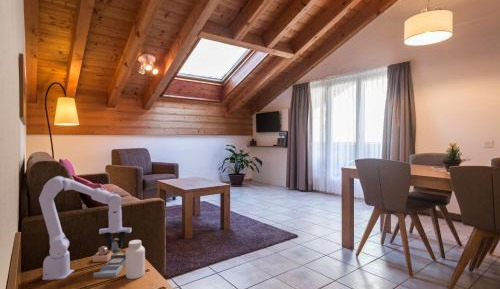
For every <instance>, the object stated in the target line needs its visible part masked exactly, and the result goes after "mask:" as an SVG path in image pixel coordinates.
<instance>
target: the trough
mask: <svg viewBox="0 0 500 289" xmlns="http://www.w3.org/2000/svg"><path fill="white" fill-rule="evenodd" d="M123 268H124V266H123V265H109V266H104V265H101V266H100V270H99V271H98V272H97V271H96V272H93V275H92V276H93V279H94V278H95V279H96V278H105V277H108V278H116V277H117V276H118V274H120V272H121V271H122V270H123Z"/></svg>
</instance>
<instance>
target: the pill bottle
mask: <svg viewBox="0 0 500 289" xmlns="http://www.w3.org/2000/svg"><path fill="white" fill-rule="evenodd" d="M125 254H126V264H125V277H126V278H127V279H130V280H134V279H135V280H136V279H139V278H141V277H143V276H144V275H145V274H146V248H145V247H144V246H143V245H142V240H140V239H133V240H130V241H129V242H128V248H126V250H125Z"/></svg>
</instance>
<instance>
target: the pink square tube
mask: <svg viewBox="0 0 500 289" xmlns="http://www.w3.org/2000/svg"><path fill="white" fill-rule="evenodd" d="M107 252H108V255H106V256H99V251H98V252H96V253H95V254H94V255H93V256H92V263H93V262H94V263H96V262H97V263H98V262H108V261H109V260H110V259H111V255H112V254H114V253H112V252H111V250H107Z"/></svg>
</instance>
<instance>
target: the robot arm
mask: <svg viewBox="0 0 500 289" xmlns="http://www.w3.org/2000/svg"><path fill="white" fill-rule="evenodd" d="M63 189H64V191H69V190H74V191H75V192H79V193H82V194H85V195H88V196H90V197H91V199H92V200H93V201H96V202H99V203H101V204H105V205H108V227H107V228H106V227H104V228H100V229H99V231H98V234H99V235H102V234H104V235H103V238H104V239H105V240H106V242H107V244H108V248H109V249H110V250H111V240H113V238H114V237H113V236H114V234H117V233H118V234H117V239H119V248H121V249H122V248H123V245H124V244H123V243H124V240H125V238H126V235H127V234H131V232H132V227H124V226H123V220H122V219H123V218H122V217H123V212H122V203H123V202H122V201H123V200H122V197H121V195H119V194H118V193H114V191H108V190H105V188H104V187H97V188H93V187H91V186H88V185H86V184H83V183H81V182H79V181H76V180H75V179H71V178H68V177H65V176H62V175H57V176H54V177H52V178H51V179H49V180H47V182H45V184H44V185H43V187H42V191H41V192H40V194H39V197H38V202H39V204H40V208H41V213H42V216H43V219H44V222H45V225H46V229H47V233H48V235H49V253H48V254H49V255H47V256H46V257H45V258H44V260H43V264H42V271H43V272H42V274H43V275H42V280H43V281H45V280H64V279H66V278H67V277H68V276H70V275H71V274H73V272H75V269H71V268H70V267H71V263H70V262H71V258H70V251H69V250H68V248H69V246H70V241H69V239H68V238H67V237H66V234H65V233H64V232H63V229H62V226H61V221H60V218H59V215H58V210H57V208H56V203H55V201H54V199H55V198H56V196H57V195H58V194H59V192H61V191H62V190H63Z"/></svg>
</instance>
